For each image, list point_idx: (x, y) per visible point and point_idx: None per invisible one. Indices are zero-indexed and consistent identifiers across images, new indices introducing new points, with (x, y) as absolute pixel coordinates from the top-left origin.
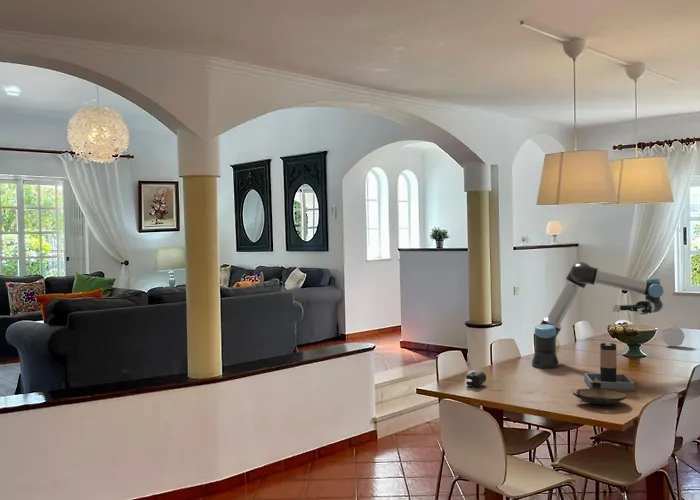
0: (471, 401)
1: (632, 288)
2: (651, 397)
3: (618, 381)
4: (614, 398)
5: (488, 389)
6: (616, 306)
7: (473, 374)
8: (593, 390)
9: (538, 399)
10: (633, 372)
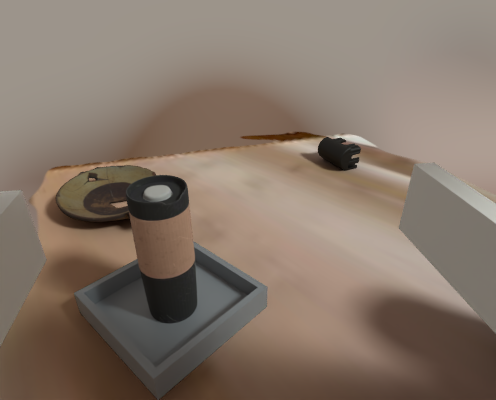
0: (260, 137)
1: None
2: None
3: (166, 355)
4: (70, 179)
5: (307, 164)
6: (490, 209)
7: (357, 151)
8: None
9: (209, 173)
10: None
